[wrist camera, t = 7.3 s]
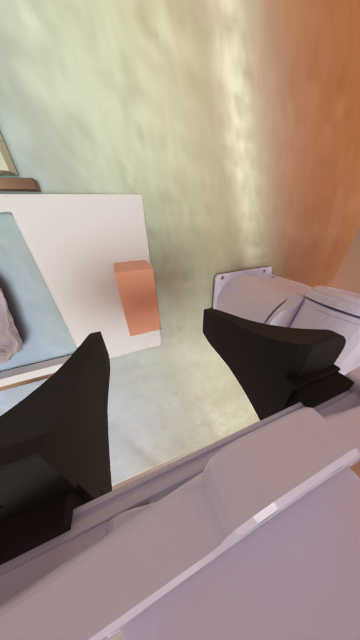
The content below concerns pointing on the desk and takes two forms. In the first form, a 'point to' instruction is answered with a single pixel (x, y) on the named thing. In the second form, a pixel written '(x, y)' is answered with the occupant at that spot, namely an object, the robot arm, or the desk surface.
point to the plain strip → (6, 160)
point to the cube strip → (90, 269)
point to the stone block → (8, 333)
